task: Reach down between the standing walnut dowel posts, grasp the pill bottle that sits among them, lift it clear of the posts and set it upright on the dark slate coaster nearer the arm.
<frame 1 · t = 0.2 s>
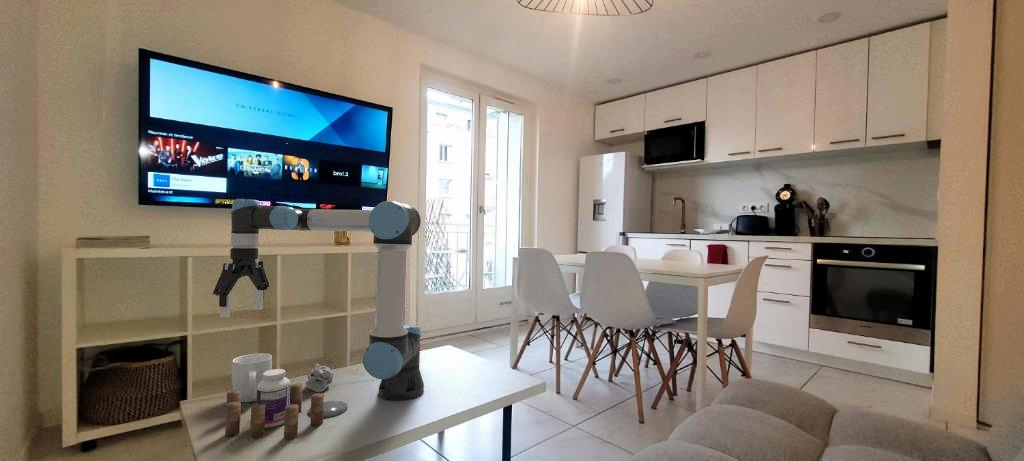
hand: (242, 313, 131), 28 cm above the table, fingers open, 13 cm apart
pill bottle: (272, 423, 115), on the table
coaster: (328, 410, 125), on the table
dowel posts: (272, 422, 115), on the table
figurine: (320, 388, 142), on the table
mug: (251, 400, 131), on the table
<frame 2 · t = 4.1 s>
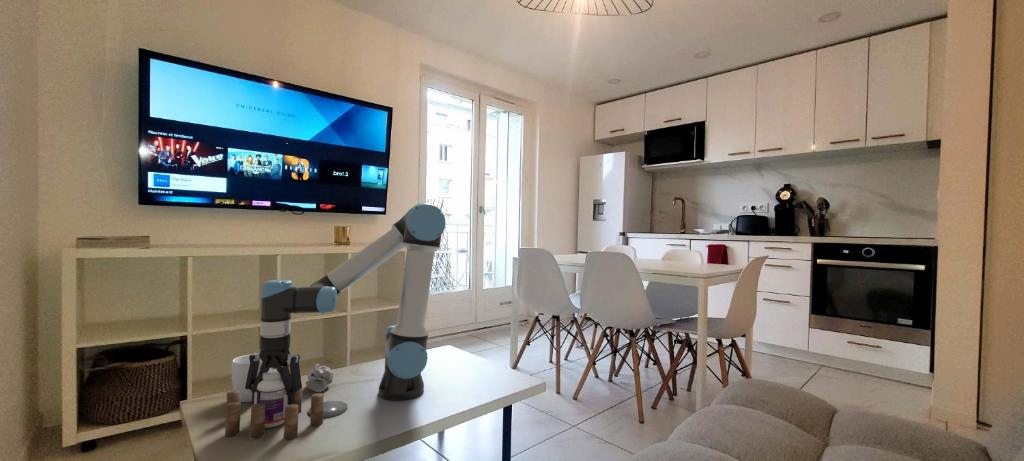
hand: (272, 414, 115), 2 cm above the table, fingers closed on pill bottle, 8 cm apart
pill bottle: (272, 423, 115), on the table, touching gripper
everything else where it was.
when the fingers open (4 cm above the table, at t = 10.4 s): pill bottle drops 1 cm, resting on coaster.
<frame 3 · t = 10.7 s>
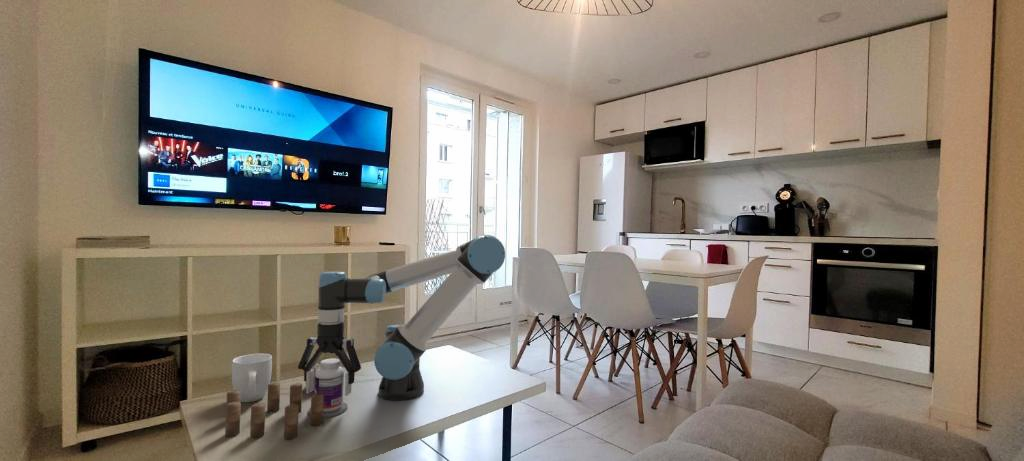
hand: (328, 393, 125), 5 cm above the table, fingers open, 11 cm apart
pill bottle: (328, 408, 125), resting on coaster
everything else where it was.
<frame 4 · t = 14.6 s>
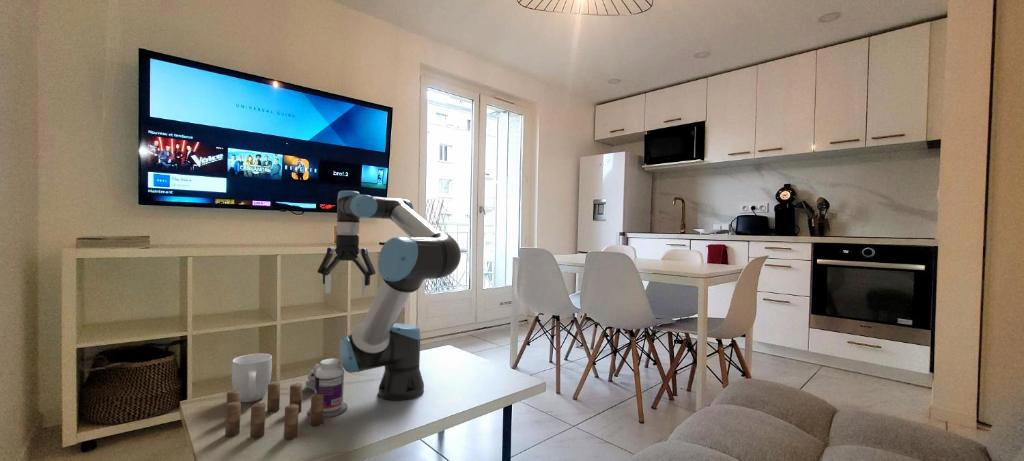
hand: (345, 294, 144), 33 cm above the table, fingers open, 13 cm apart
nothing on the table moved.
at the end: pill bottle inside the target area on the coaster (0.1 cm from its centre), point 0.4 cm above the coaster's base; pill bottle tilted 0°; the gripper is holding nothing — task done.
